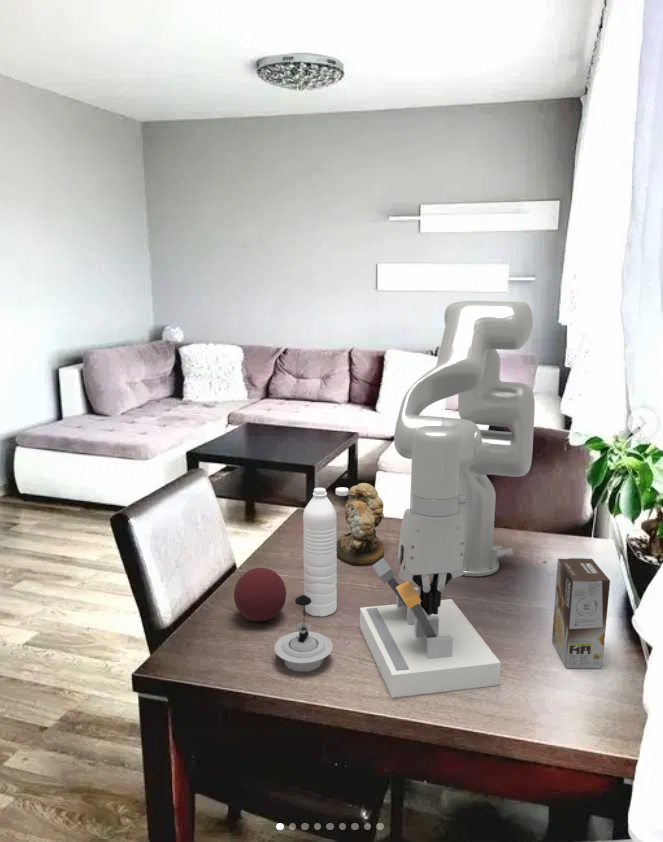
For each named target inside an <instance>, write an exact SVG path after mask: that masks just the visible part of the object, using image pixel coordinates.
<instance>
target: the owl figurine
mask: <svg viewBox="0 0 663 842" xmlns="http://www.w3.org/2000/svg"><path fill="white" fill-rule="evenodd" d="M344 505H345V507H344V514H345V515H344V518H345V521H346V524H349V529H350V532H348V533H345V534H344V535H342V536H340V537H339V538H338V540H336V541H337V544H336V545H337V548H336V550H337V558H338V559H339V560H340V561H341V562H343V563H345V564H349V565H350V564H351V565H350V566H354V565H355V566H354V567H357V566H359V567H369V566H373V565H374V564H375V563H376V562H378V561H379V560H381V559H382V558H384V555H385V547H384V545H383V543H382V542H381V540H379V539H380V538H379V537H378V536H377V534H376V533H377V531H376V528H377V527H379V525H380V524H381V522H382V520H383V519H384V517H385V515H384V513H383V512H384V502H383V499H382V498H381V497H379V493H378V491H377V489H376V487H375V486H373V485H371V483H367V482H361V483H358V484H357V485H353V486H351V487H350V488H349V494H348V499H347V500H346V503H345V504H344Z"/></svg>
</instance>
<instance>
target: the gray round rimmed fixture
mask: <svg viewBox="0 0 663 842" xmlns="http://www.w3.org/2000/svg"><path fill="white" fill-rule="evenodd" d="M294 603H295V604H296V605H298V606H303V607H302V608H303V609H302V611H303V612H302V613H303V614H302V615H303V619H302V621H303V622H300V623H298V624H296V626H295V628H296V629H297V630H298V631H294V632H290V633H288V634H285V635H283V636H281V637H280V638H278V640H277V641H275V643H274V652H275V655H277V656H278V658H280V659H282V660H283V661H284V665H285V666H286V667H287V668H288V669H290V670H292V671H296V672H300V671H306V672H311V670H312V671H314V670H317V669H318V668H320V667H321V665H322V664H323V662H324V659H325V658H327V657H328V656H329V655H330V654H331V653H332V651H333V649H334V648H333V647H334V646H333V645H334V644H333V643H332V640H331V639H330V638H328V636H325V635H324V634H321V633H319V632H315V631H309V630H310V629H311V627H312V626H311V623H308V622H305V620H306V618H305V617H306V612H305V608H304V605H308V604H310V603H311V599H310V598H309V597H307V596H304V594H302V595H299V596H297V597H296V598H295V600H294Z"/></svg>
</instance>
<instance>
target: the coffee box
mask: <svg viewBox="0 0 663 842" xmlns="http://www.w3.org/2000/svg"><path fill="white" fill-rule="evenodd" d="M555 577H556V579H555V580H556V581H555V596H554V607H553V611H554V612H553V623H552V638H551V642H552V644H553V645H554V648H555V650H556V652H557V654H558V655H559V657H560V659H561V661H562V662H563V665H564V666H565V668H566V669H599V670H601V669H603V660H604V652H605V651H604V650H605V638H606V630H607V619H608V618H607V617H608V607H609V597H610V587H611V586H610V585H611V580H610V578H609V577H608V576H607V575H606V573H604V571H603V570H602V569H601V568H600V567H599V565H598V564H597V563H596V562H595V560H594V559H593V558H583V557H582V558H579V557H578V558H576V557H571V558H557V565H556V576H555Z"/></svg>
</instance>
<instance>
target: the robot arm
mask: <svg viewBox="0 0 663 842" xmlns="http://www.w3.org/2000/svg"><path fill="white" fill-rule="evenodd" d="M533 322H534V317H533V312H532V309H531V306H530V305H529V304H528V302H527V303H526V302H525V301H507V300H506V301H504V300H503V301H499V300H497V301H494V300H492V301H491V300H465V301H464V300H463V301H461V300H460V301H456V302H452V303H450V304H448V305H447V307H446V309H445V310H444V326H445V327H444V331H443V335H442V339H441V344H440V348H439V353H438V356H437V361H436V365H435V366H434V367H433V368H432V369H429V371H427V372H426V373H424V374H423V375H421V376H420V377H419V378H418V380H416V381H415V382H414V383H413V384H412V385H411V387H409V389H408V390H407V392H406V393H405V395H404V396H403V399H402V401H401V405H400V408H399V412H398V416H397V420H396V424H395V428H394V435H393V436H394V437H393V442H394V448H395V450H396V453H398V454H399V456H401V457H403V458H404V459H408V460H411V472H410V474H411V475H410V502H409V503H410V504H409V506H410V507H409V508H407V509H405V510H404V512H403V517H402V521H401V525H400V532H399V541H398V548H397V550H398V551H397V561H398V564H399V565H400V568H399V572H398V577H399V578H400V579H401V581H404V582H406V581H409V582H410V583H411V582H413V583H415V584H416V585H417V586H418V588H420V589H419V597H420V599H421V601H422V602H420V606H421V607H422V608H423V609H424V610H425V612H426V613H427V614H428V615H432V614H434V615H436V614H438V607H440V604H441V600H442V592H443V591H444V590H445V586H446V585H447V584H448V583H449V582H450V581H451V580H452V579H455V578H459V577H461V576H466V577H486V576H487V577H488V576H489V575H492V574H494V573H496V572H498V570H499V568H500V562H499V560H500V559H501V558H511V557H512V558H513V556H514V551H513V548H511V547H509V548H504V547H503V545H495V546H494V536H495V535H494V534H495V531H494V530H495V516H496V515H495V513H496V497H497V496H496V490H495V487H494V486H493V483H492V482H491V480H490V479H489V478H488V475H491V476H492V475H493V476H501V477H502V476H504V477H517V478H519V477H520V478H521V477H524V476H526V475H527V474H528V473H529V472H530V469H531V466H532V460H533V449H534V448H533V447H534V433H535V432H534V429H535V428H534V427H535V411H536V410H535V409H536V408H535V406H536V405H535V404H536V403H535V395H534V391H533V389H532V388H531V387H530V386H529V385H528V384H525V383H523V382H516V381H514V382H513V381H502V380H501V377H500V376H501V375H500V372H501V357H500V354H499V352H498V351H497V350H503V351H507V350H508V351H509V350H511V351H513V350H520V349H522V348H523V346H524V345H525V344H527V342H528V340H529V338H530V337H531V333H532V331H533V325H534V323H533ZM454 396H458V397H457V408H458V415H459V418H456V417H454V418H453V417H445V416H433V415H432V416H431V415H421V413H422V412H423V411H425V409H426V408H427V407H429V406H430V405H432V404H434V403H436V402H439V401H441V400H444V399H447V398H450V397H454ZM478 425H483V426H496V427H506V428H508V429H509V430H510V431H498V430H491V429H490V430H489V429H480V428H479V426H478ZM430 575H431V580H430ZM430 581H431V582H430Z"/></svg>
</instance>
